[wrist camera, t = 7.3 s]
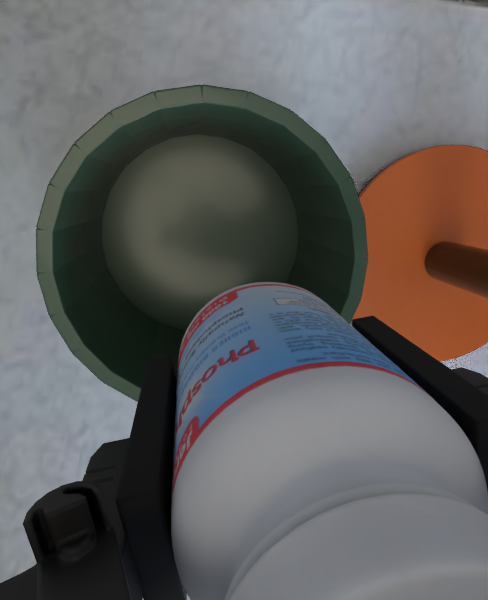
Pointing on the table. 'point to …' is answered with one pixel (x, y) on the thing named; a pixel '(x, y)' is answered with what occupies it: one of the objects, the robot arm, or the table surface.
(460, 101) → the table surface
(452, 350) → the tin lid
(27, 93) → the table surface
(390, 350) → the robot arm
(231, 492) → the pill bottle
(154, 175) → the tin
